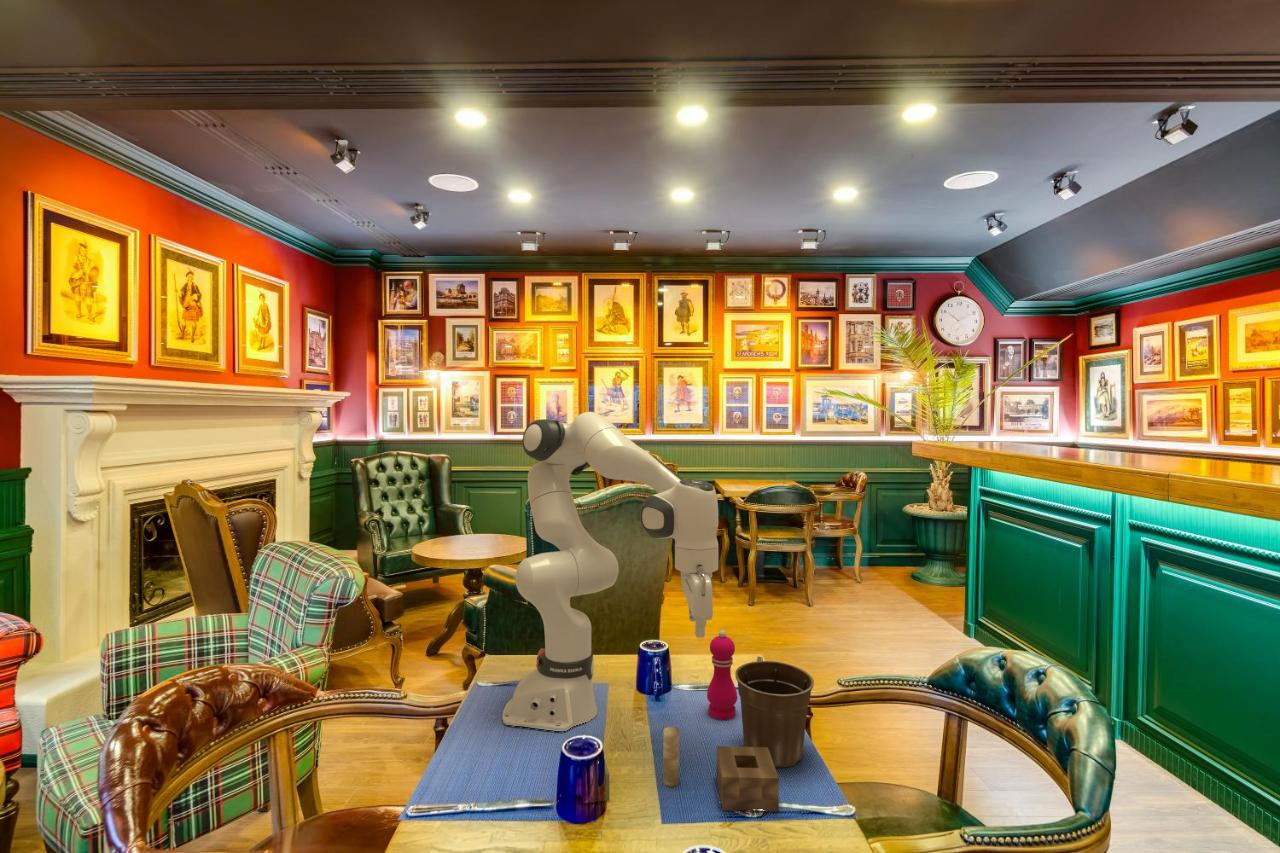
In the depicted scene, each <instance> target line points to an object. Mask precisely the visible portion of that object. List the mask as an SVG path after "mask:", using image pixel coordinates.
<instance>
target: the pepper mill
mask: <svg viewBox="0 0 1280 853" xmlns="http://www.w3.org/2000/svg"><path fill="white" fill-rule="evenodd" d="M709 651H710V653H711V655H712V656H711V663H712V665H713V675H712V677H711V680H710V682H709V684H708V687H707V690H706V699H707V701H708V702H709V704H708V714H709V716H710V717H711V718H713V719H715V720H720V721H728V720H732V719H734V718H735V716H736V706H735V704H736V703H737V701H738V692H737V689H736V688H737V687H736V686H735V683H734V680H733V678H732V674H731V668H732V666H733V664H734V658H733V655H734V654H735V652H736V646H735V643H734V641H733V639H731V638H730V637H728V636H727V632H726V631H725V630H723V629H721V630H720V631H719V632H718V635H717V636H715V637H713V639H711V641H710V644H709Z"/></svg>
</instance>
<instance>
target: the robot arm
mask: <svg viewBox="0 0 1280 853" xmlns="http://www.w3.org/2000/svg"><path fill="white" fill-rule="evenodd" d="M522 448H523V450H524V453H525V454H526V455H527V456H528V457H529V458H532V459H533V460H535V461H537V463H535V464H533V465H532V466H531V468H530V469H529V470H528V473H527V492H528V499H529V505H530V511H531V515H532V518H533V519H532V520H533V524H534V529H535V533H536V534H537V535H538V537H540V538H541V540H543V541H546V542H548V543H550V544H552V545H553V546H555V547H556V548H557V549H558V550H559V551H549V552H540V553H537V554H533V555H532V556H528V557H526V558H523V559H522V560H521V561H520V563H519V564H518V566H517V568H516V571H515V576H514V579H515V586H516V589H517V591H518V593H519V594H520V596H521V597H523V599H525V600H526V601H528V602H529V603H531V604H532V605H533V606H534V608H536V610H537V611H538V612H539V614H540V616H541V619H542V622H543V623H542V624H543V629H544V644H545V645H544V648H540V649H539V650H538V653H537V657H536V662H535V664H536V666H535V667H536V668H535V669H534V670H532V671H531V672H530V673H528V674H527V675H526V676H525V677H523V678H522V679H521V680H520V681H519V683H518V684H517V685H516V688H515V689H514V691H513V692H514V693H513V696H512V697H511V699H510V700H509V701H507V703H506V704H505V706H504V707H503V708H504V709H503V711H502V715H501V716H502V717H501V721H502V720H503V721H502V723H503V722H504V723H505V724H507V725H515V726H525V727H532V728H540V729H541V728H542V729H550V730H551V729H552V730H561V731H564V730H568V729H570V728H571V727H573V726H575V727H577V726H576V725H578V726H580V725H579V724H581V725H583V724H582V723H584V724H586V723H588V722H590V721H592V720H593V719H594V718H595V717H597V715H598V712H599V710H598V709H599V708H598V706H597V702H596V697H595V693H594V685H593V675H594V653H593V651H592V622H591V621H590V618H589V617H588V615H587V614H585V613H584V612H582V611H580V610H578V609H576V608H573V607H572V606H571V598H572V597H577V596H583V595H589V594H596V593H598V592H601V591H604V590H606V589H608V588H609V589H610V588H612V587H613V586H614V585H615V584H616V581H617V579H618V576H619V563H618V559H617V557H616V555H615V554H614V553H613V552H612V551H611V550H610V549H609V548H607V547H605V546H603V545H601V544H600V543H598V542H597V541H596V540H595V539H594V538H593V537H592V536H591V535H590V534H589V532H588V531H587V530H586V528H585V527H584V526H583V523H582V521H581V519H580V516H579V514H578V510H577V506H576V503H575V500H574V496H573V493H572V489H571V486H570V485H571V484H570V476H571V475H572V476H579V475H581V473H583V471H584V470H587V469H588V468H589V467H591V469H592V470H594V471H595V472H596V473H598V474H599V475H601V476H602V477H604V478H607V479H610V480H616V481H617V480H619V481H629V482H636V483H638V484H639V483H640V484H643V485H646V486H648V487H650V488H652V489H653V490H654V491H655V492H657V493H656V494H652V495H649V496H647V497H646V498H645V499H644V501H643V503H642V505H641V507H640V514H639V518H640V524H641V526H642V529H643V531H644V532H645V533H646V534H647V535H648V536H649V537H650V538H652V539H659V540H665V539H670V538H672V539H674V568H675V570H677V571H679V572H680V581H681V586H682V587H681V588H682V592H683V594H684V597H685V599H686V602H687V605H688V606H687V608H688V618H689V621H690V622H694V634H695V637H696V638H700V639H701V638H702V639H703V638H705V635H706V625H707V621H710V620H712V619H713V617H714V616H713V615H714V609H713V608H714V605H713V584H712V577H713V573H714V572H717V571H718V570H719V541H718V538H717V532H718V528H719V503H718V495H717V492H716V489H715V487H714V485H712V484H711V483H710V482H708V481H706V480H702V479H694V478H684V479H683V478H682V476H680V475H679V474H677V473H676V472H675V471H673V470H672V468H670V467H669V466H668V465H666V464H665V463H664V462H663V461H661V460H660V459H659V458H657V457H655V456H654V455H653V454H651V453H649V452H648V451H647V450H645V449H643V448H641V447H640V446H639V445H637V444H636V443H635V442H633V441H632V440H631V439H630V438H629V437H627V436H626V435H625V434H624V433H623V432H622V431H621V430H620V429H619V428H618V427H617V426H616V425H615V424H613V423H612V422H611V421H610V420H609V419H607V418H605V417H604V416H602V415H601V414H600V413H598V412H594V411H585V412H583V413H580V414H579V415H578V416H576V417H575V418H574V419H573V421H572V422H571V423H570V424H569V423H564V422H562V421H560V420H558V419H557V420H556V419H555V420H554V419H546V418H545V419H535V420H533V421H532V422H530V423H529V424H528V425H527V427H526V428H525V430H524V432H523V435H522ZM591 719H592V720H591ZM585 722H586V723H585ZM504 723H503V724H504ZM505 724H504V725H505ZM507 725H506V726H507ZM557 726H559V727H557ZM573 728H574V727H573ZM571 729H572V728H571ZM571 729H570V730H571ZM568 731H569V730H568Z"/></svg>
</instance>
